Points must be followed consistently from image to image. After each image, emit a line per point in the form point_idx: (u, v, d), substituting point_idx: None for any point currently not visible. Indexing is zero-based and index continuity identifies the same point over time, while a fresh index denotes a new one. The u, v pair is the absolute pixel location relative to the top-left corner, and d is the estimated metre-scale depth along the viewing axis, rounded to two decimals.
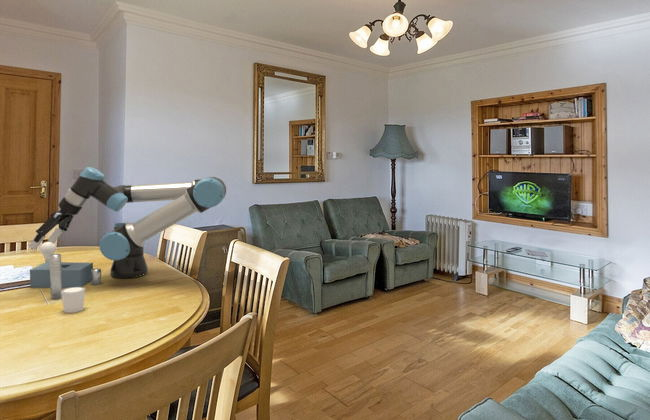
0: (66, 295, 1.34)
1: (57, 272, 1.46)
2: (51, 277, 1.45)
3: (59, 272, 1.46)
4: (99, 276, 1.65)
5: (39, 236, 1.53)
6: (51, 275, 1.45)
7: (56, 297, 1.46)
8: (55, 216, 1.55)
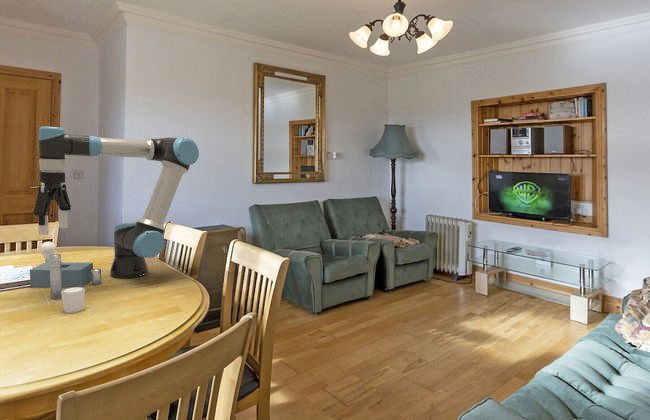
0: (66, 295, 1.34)
1: (57, 272, 1.46)
2: (51, 277, 1.45)
3: (59, 272, 1.46)
4: (99, 276, 1.65)
5: (41, 217, 1.36)
6: (51, 275, 1.45)
7: (56, 297, 1.46)
8: (42, 190, 1.36)
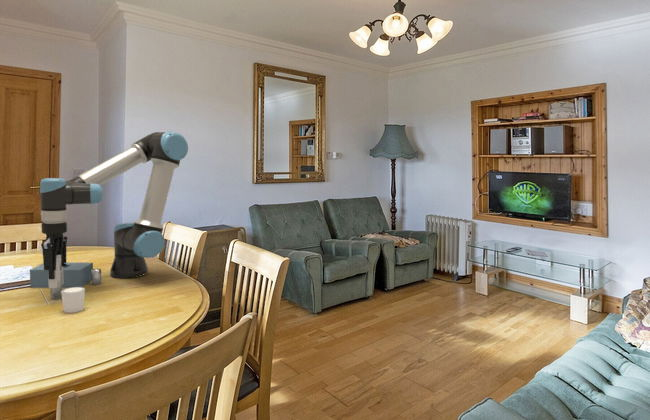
0: (66, 295, 1.34)
1: (57, 272, 1.46)
2: None
3: (59, 272, 1.46)
4: (99, 276, 1.65)
5: (51, 272, 1.43)
6: None
7: (56, 297, 1.46)
8: (46, 247, 1.39)
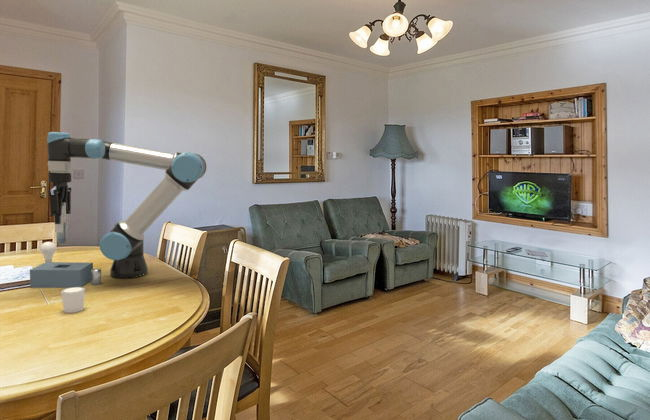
0: (66, 295, 1.34)
1: None
2: None
3: (64, 218, 1.61)
4: (99, 276, 1.65)
5: (57, 217, 1.58)
6: None
7: (61, 241, 1.61)
8: (52, 193, 1.54)
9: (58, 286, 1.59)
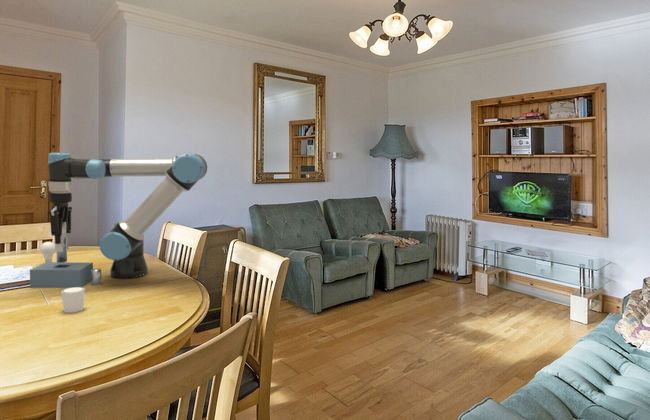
0: (66, 295, 1.34)
1: (63, 237, 1.61)
2: None
3: (64, 238, 1.62)
4: (99, 276, 1.65)
5: (57, 237, 1.59)
6: None
7: (61, 260, 1.62)
8: (53, 214, 1.55)
9: (58, 286, 1.59)
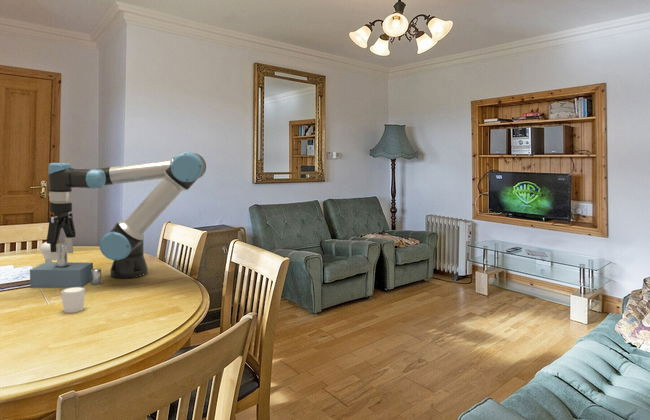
0: (66, 295, 1.34)
1: (64, 259, 1.62)
2: (58, 264, 1.62)
3: (65, 260, 1.63)
4: (99, 276, 1.65)
5: (53, 245, 1.55)
6: (58, 262, 1.62)
7: None
8: (52, 221, 1.55)
9: (58, 286, 1.59)
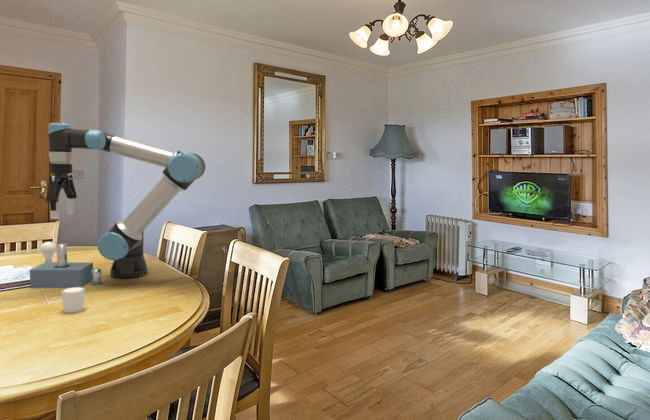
0: (66, 295, 1.34)
1: (64, 259, 1.62)
2: (58, 264, 1.62)
3: (65, 260, 1.63)
4: (99, 276, 1.65)
5: (52, 203, 1.54)
6: (58, 262, 1.62)
7: None
8: (53, 179, 1.54)
9: (58, 286, 1.59)
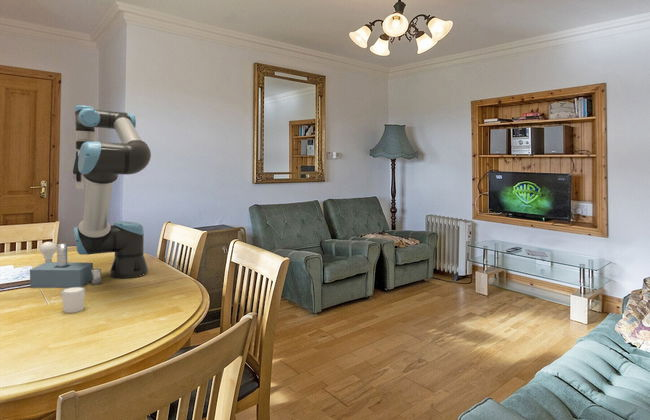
0: (66, 295, 1.34)
1: (64, 259, 1.62)
2: (58, 264, 1.62)
3: (65, 260, 1.63)
4: (99, 276, 1.65)
5: (78, 175, 1.77)
6: (58, 262, 1.62)
7: None
8: (79, 154, 1.77)
9: (58, 286, 1.59)
